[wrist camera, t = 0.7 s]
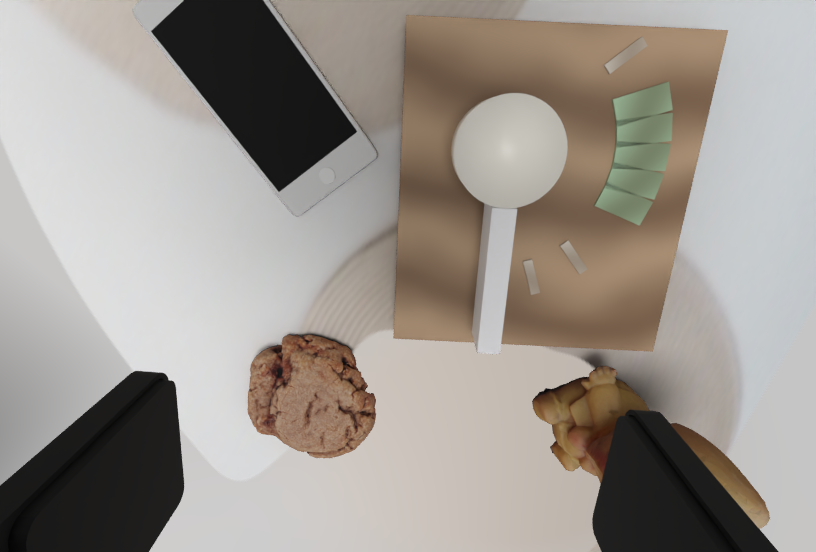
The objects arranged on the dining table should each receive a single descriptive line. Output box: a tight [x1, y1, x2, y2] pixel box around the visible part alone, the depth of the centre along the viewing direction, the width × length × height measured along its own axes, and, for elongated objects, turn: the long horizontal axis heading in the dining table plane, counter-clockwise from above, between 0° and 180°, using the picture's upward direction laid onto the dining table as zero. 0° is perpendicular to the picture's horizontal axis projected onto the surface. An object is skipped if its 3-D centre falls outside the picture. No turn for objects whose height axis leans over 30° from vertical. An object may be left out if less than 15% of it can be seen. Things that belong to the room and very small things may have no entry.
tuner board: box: [394, 15, 728, 351], centre depth 30 cm, size 20×18×2 cm
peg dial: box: [451, 93, 568, 354], centre depth 28 cm, size 15×6×3 cm, turn 177°
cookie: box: [248, 334, 376, 458], centre depth 35 cm, size 10×11×3 cm
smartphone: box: [133, 0, 377, 217], centre depth 29 cm, size 7×16×1 cm, turn 36°
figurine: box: [532, 366, 770, 529], centre depth 30 cm, size 10×8×15 cm
